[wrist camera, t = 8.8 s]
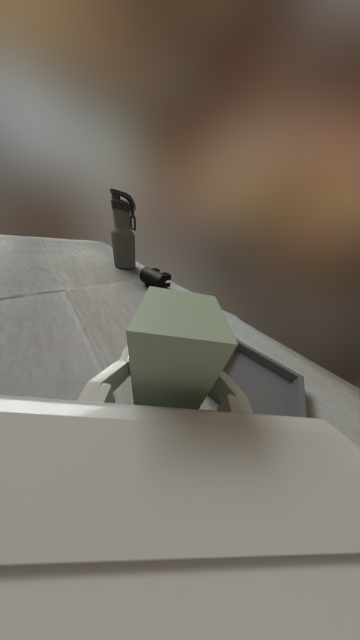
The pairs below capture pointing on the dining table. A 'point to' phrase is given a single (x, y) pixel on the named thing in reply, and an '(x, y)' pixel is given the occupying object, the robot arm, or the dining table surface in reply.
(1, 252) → the dining table surface
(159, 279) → the end cap
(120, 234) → the water bottle
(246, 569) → the robot arm
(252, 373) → the grey tray
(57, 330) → the dining table surface
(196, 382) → the sage block
